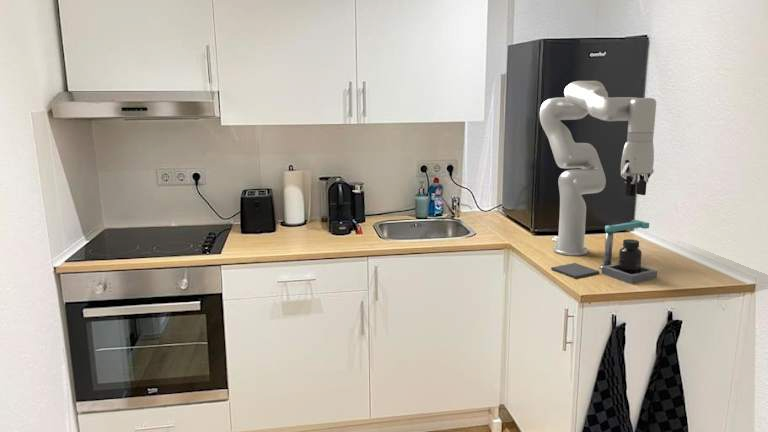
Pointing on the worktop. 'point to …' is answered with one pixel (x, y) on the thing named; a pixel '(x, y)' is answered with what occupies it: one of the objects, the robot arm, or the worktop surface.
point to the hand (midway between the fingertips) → (635, 194)
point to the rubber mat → (575, 270)
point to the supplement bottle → (630, 257)
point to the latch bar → (626, 226)
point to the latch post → (608, 250)
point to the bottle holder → (629, 278)
